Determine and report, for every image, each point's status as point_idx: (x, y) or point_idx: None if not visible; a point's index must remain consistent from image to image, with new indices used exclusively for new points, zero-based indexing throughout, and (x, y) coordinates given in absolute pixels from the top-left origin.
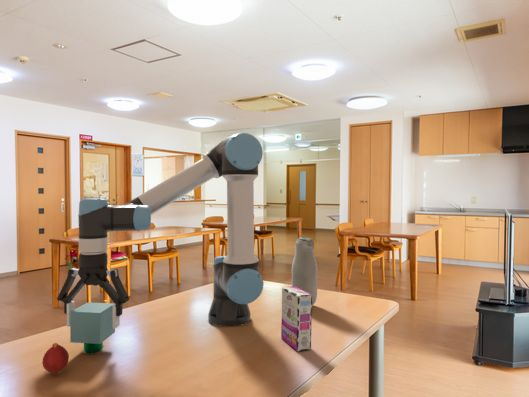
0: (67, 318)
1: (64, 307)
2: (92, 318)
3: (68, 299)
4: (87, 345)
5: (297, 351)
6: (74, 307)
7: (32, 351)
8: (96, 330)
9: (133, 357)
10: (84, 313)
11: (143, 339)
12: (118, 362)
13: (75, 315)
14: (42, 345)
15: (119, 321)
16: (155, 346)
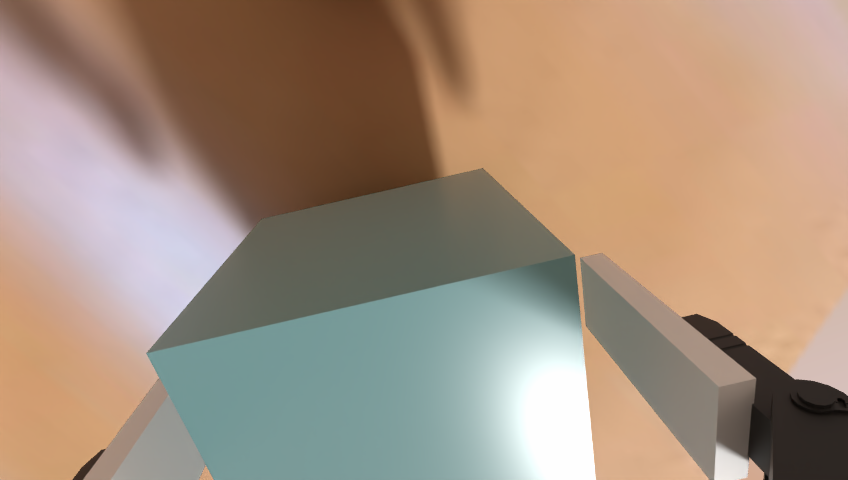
0: (631, 285)
1: (755, 354)
2: (275, 289)
3: (787, 438)
4: None
5: None
6: (664, 420)
7: (727, 134)
8: (264, 248)
9: (113, 264)
10: (373, 294)
11: None
12: (137, 183)
13: (489, 252)
14: (722, 216)
15: None
16: (120, 406)
